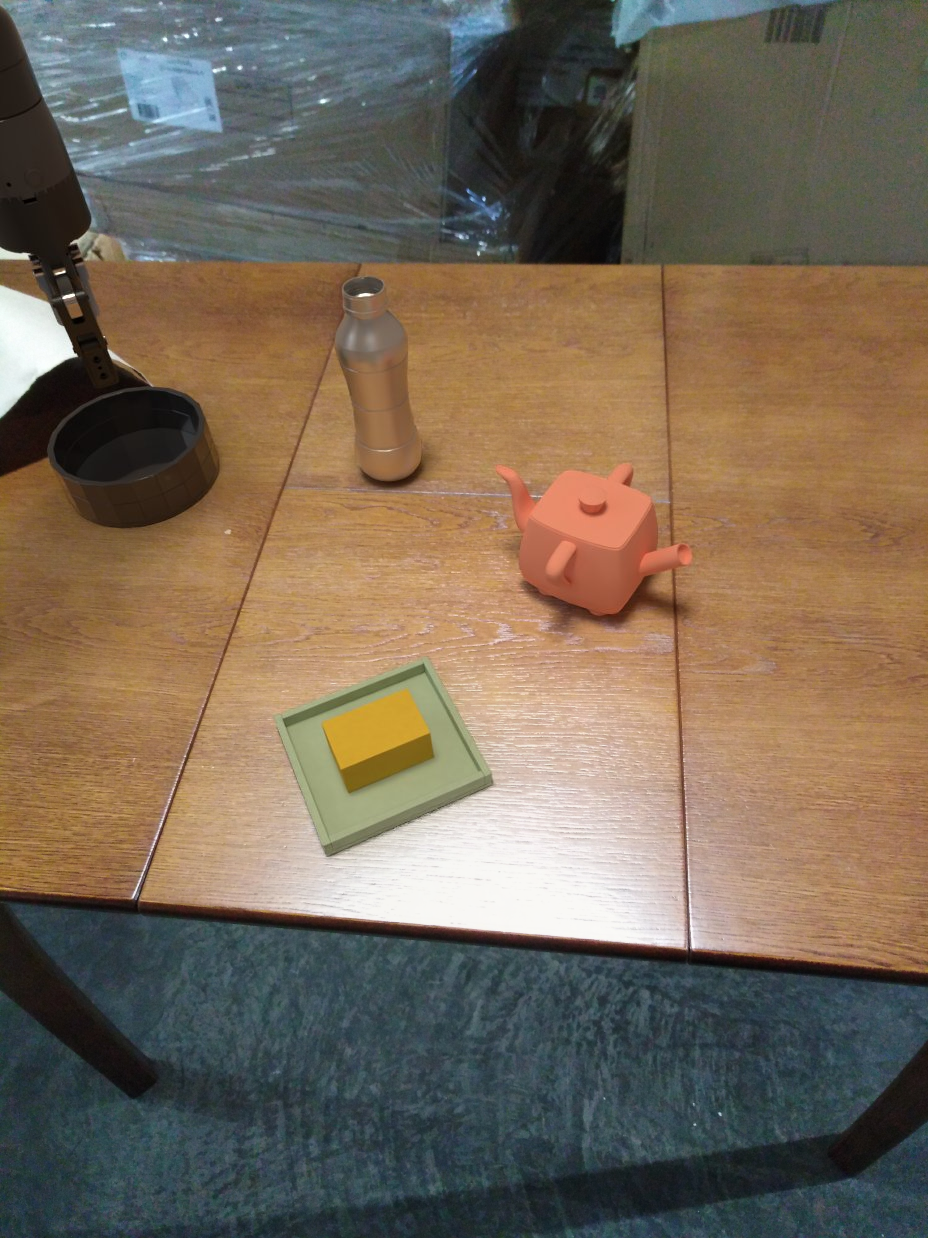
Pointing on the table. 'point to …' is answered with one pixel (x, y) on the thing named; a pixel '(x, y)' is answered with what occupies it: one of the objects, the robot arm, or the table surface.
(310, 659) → the table surface
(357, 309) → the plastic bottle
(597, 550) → the teapot
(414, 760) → the sponge
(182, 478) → the bowl
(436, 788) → the tray
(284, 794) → the table surface
